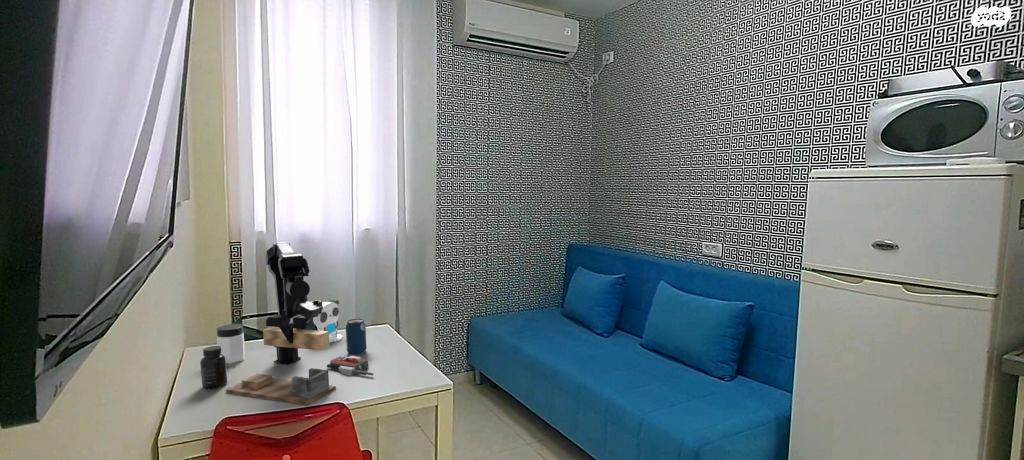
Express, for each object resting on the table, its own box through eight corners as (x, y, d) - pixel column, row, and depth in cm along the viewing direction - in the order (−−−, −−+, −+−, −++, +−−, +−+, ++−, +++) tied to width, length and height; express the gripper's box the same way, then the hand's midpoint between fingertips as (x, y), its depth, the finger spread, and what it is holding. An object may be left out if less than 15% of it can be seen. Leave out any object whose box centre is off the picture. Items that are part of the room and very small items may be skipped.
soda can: (370, 351, 190) (369, 319, 189) (355, 357, 184) (354, 324, 183) (357, 348, 194) (356, 317, 193) (342, 353, 188) (341, 321, 187)
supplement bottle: (208, 382, 162) (206, 344, 161) (231, 381, 162) (229, 344, 161) (197, 390, 155) (194, 351, 154) (221, 389, 156) (218, 351, 155)
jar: (220, 357, 185) (218, 325, 184) (245, 354, 188) (244, 322, 187) (217, 365, 177) (214, 331, 176) (243, 362, 180) (241, 328, 179)
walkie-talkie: (321, 372, 171) (371, 379, 163) (321, 359, 170) (370, 366, 163) (339, 363, 179) (387, 370, 171) (339, 351, 178) (387, 357, 171)
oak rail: (263, 345, 166) (263, 329, 166) (273, 341, 170) (272, 326, 169) (321, 350, 160) (320, 334, 159) (329, 346, 163) (328, 331, 163)
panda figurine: (328, 344, 199) (326, 306, 198) (305, 341, 203) (303, 304, 202) (348, 336, 210) (347, 300, 209) (326, 333, 214) (324, 298, 213)
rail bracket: (226, 392, 153) (224, 371, 153) (258, 378, 165) (256, 358, 164) (307, 405, 144) (306, 382, 143) (335, 389, 155) (334, 368, 154)
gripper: (292, 301, 152) (295, 352, 153) (333, 289, 169) (335, 335, 171) (263, 299, 155) (266, 349, 157) (306, 287, 173) (308, 332, 174)
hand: (296, 341), depth 165 cm, fingers closed on oak rail, 4 cm apart
